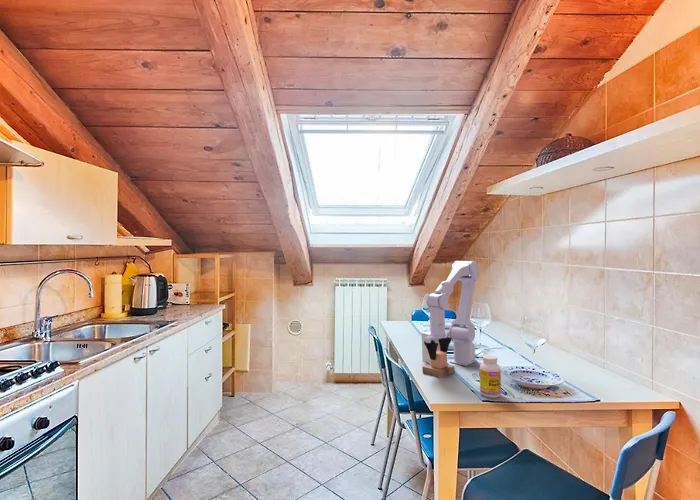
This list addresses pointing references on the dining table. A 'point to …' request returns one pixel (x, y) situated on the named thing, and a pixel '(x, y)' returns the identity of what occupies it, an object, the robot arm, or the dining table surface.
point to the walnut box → (438, 370)
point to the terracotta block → (440, 360)
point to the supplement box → (424, 350)
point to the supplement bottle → (490, 377)
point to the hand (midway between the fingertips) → (438, 357)
